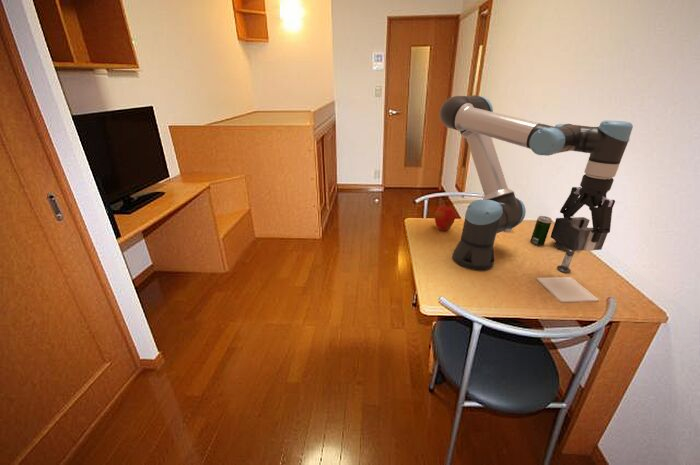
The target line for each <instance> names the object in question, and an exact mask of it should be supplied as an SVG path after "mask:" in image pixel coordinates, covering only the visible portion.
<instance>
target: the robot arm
mask: <svg viewBox="0 0 700 465" xmlns="http://www.w3.org/2000/svg"><path fill="white" fill-rule="evenodd" d="M439 119H440V122H441V123H442V125H443V126H444V127H446V128H447V129H452V130H456V131H457V132H459V133H460V135H461V137H462V138H463V139H466V141H467V144H468V148H469V151H470V154H471V156H472V160H473V163H474V167H475V170H476V173H477V176H478V179H479V182H480V185H481V188H482V192H483V195H484V196H483V198H482V199H477V200H476V199H475V200H473V201H471V202H470V203H469V205H467V209H466V210H465V214H464V216H465V217H464V222H463V227H462V232H461V237H460V239H459V240H460V241H458V243H457V244H456V247H455V248H454V249H453V252H452V260H453V261H454V263H455V264H456V265H458V266H460V267H463V268H465V269H467V270H469V271H470V270H471V271H477V272H484V271H488V270H491V269H492V268H493V267H494V264H495V253H494V243H495V241H496V237H497V234H499V233H501V232H506V231H505V230H507V229H511V228H512V229H514V228H515V227H516V226H518V225H520V224H521V223H522V222H523V221H524V219H525V217H526V212H527V210H526V207H525V204H524V202H523V201H522V200H521V199H519V198H517V197H516V195H515V192H514V190H512V189H510V188H509V187H508V184H507V181H506V179H505V175H504V172H503V170H502V167H501V163H500V161H499V157H498V153H497V151H496V148H495V145H494V141H493V139H497V140H499V141H503V142H506V143H509V144H512V145H517V146H519V147H523V148H526V149H530V150H531V151H532V152H533V153H534V154H535V155H537V156H552V155H555V154H559V153H560V154H561V153H566V152H571V151H572V152H577V153H584V154H589V157H588V160H587V163H586V166H585V168H584V174H583V175H582V178H581V182H580V183H579V185H580V186H572V187H571V190H570V193H569V195H568V197H567V198H566V200H565V202H564V203H563V205H562V207H561V208H560V210H559V213H560V214H562V216H563V218H574V216H575V214H576V213H578V211H579V210H580V209H581V208H583V206H586V207H588V209H589V211H590V214H591V222H592V228H593V231H590V233H589V236H588V239H587V241H586V244H585V247H584V250H583V251H584V252H592V251H595V250H594V247H595V244H596V242H598V241H599V239H600V236H601V234H602V233H608V234H609V233H611V225H612V217H613V216H612V215H613V208H614V205H615V203H616V200H615V199H609V198H607V193H608V192H609V191H611V189H612V186H613V183H614V182H615V180H614V177H616V175H617V172H618V169H619V167H620V164H621V161H622V159H623V156H624V153H625V150H626V148H627V146H628V143H629V142H630V137H631V134H632V131H633V128H634V127H633V126H634V125H633V123H632V122H631V121H630V122H629V121H622V120H602V121H601V122H600V124H599V125H598V126H590V125H589V126H587V125H580V124H572V123H558V124H556V125H555V126H554V125H553V126H552V125H549V124H544V123H540V122H536V121H532V120H527V119H523V118H519V117H515V116H510V115H507V114H503V113H499V112H494V109H493V105H492V103H491V101H490V100H489V99H488V98H487V97H485V96H481V95H475V94H474V95H455V96H451V97H450V98H448V99H446V100H445V101H444V102H443V103H442V105H441V106H440V110H439ZM598 227H599V229H598Z"/></svg>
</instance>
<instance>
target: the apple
mask: <svg viewBox="0 0 700 465" xmlns="http://www.w3.org/2000/svg"><path fill="white" fill-rule="evenodd" d="M455 220H456V211H455V209H454V208H453V207H451V206H448V205H441V206H439V207H438V208H436V210H435V213H434V221H435V222H434V223H435V226H436V228H438V230H440V231H443V232H446V231H448V230H449V229H451V227H452V226H453V224H454V223H455Z"/></svg>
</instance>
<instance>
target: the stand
mask: <svg viewBox="0 0 700 465" xmlns="http://www.w3.org/2000/svg"><path fill="white" fill-rule="evenodd" d="M574 255H575V251H571V250H570V249H568V250H565V254H564V257H563V259H562V262H561V264H560V265H557V266H556V270H557V271H558V272H561V273H563V274H570V273H571V271H572V269H571V268H569V267H570V265H571V263H572V262H571V261H572V260H573V258H574Z"/></svg>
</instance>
